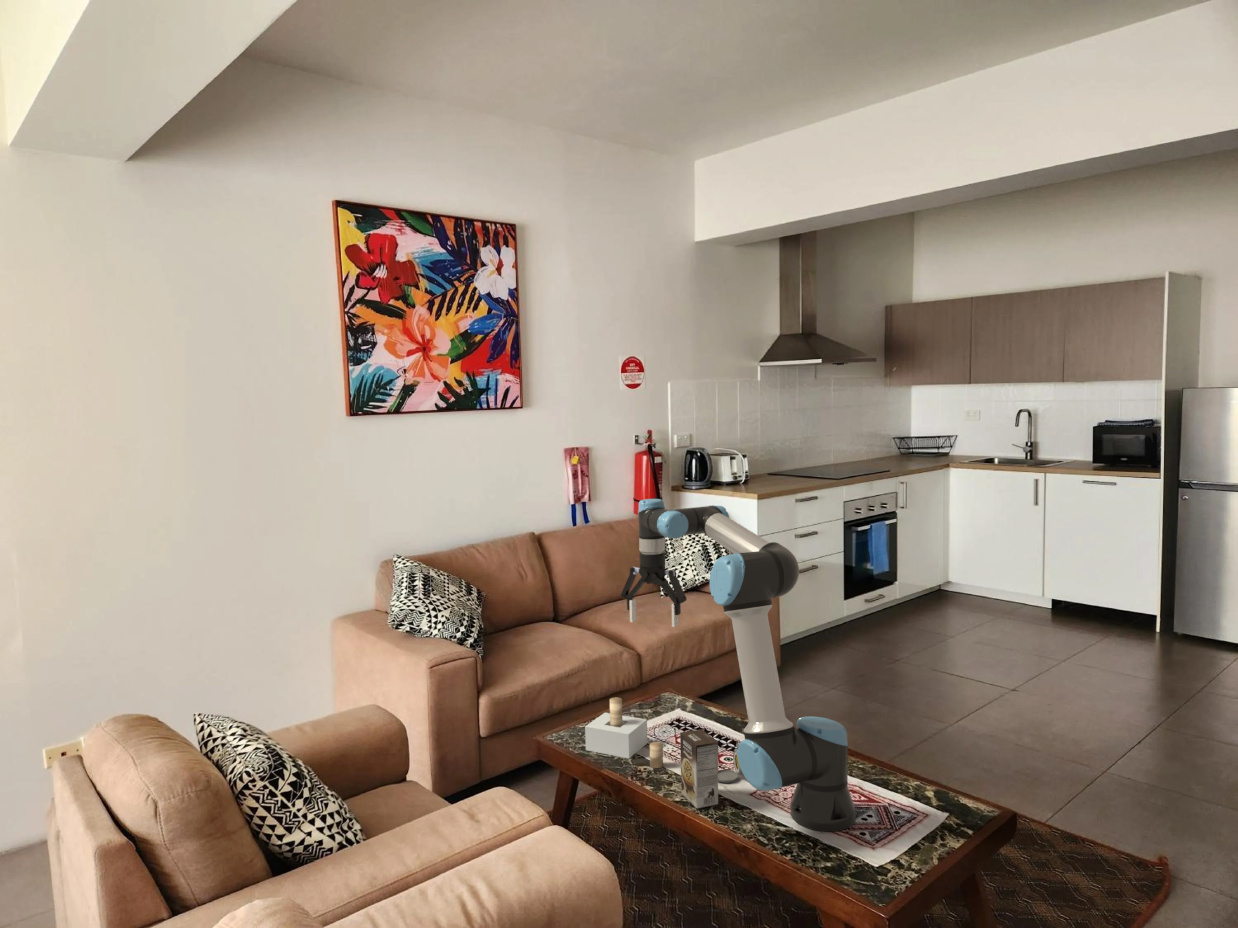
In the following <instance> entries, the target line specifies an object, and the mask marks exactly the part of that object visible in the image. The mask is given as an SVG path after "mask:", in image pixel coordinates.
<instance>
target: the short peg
mask: <svg viewBox="0 0 1238 928" xmlns="http://www.w3.org/2000/svg"><path fill="white" fill-rule="evenodd" d="M649 766H650V768H652V769H655V768H659V769H662V768H663V767H664V744H663V743H662V742H660V741H652V742H650V743H649Z"/></svg>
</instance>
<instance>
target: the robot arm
mask: <svg viewBox="0 0 1238 928" xmlns="http://www.w3.org/2000/svg"><path fill="white" fill-rule="evenodd" d="M637 516H638V518H637V519H638V542H639V544H638V547H639V548H638V550H639V567H637V566H636V565H634V566H632V567H630V568H629V575H628V577H627V580H626V582H625V584H624V587H623V589H622V590H621V594H620V596H621V598H624V599H625V600H626V609H627V610H628V611H629V623H634V622H637V600H636V598H635V596H636V595H637V593H638V592H639V591H640V589H641V588H642V587H643V586H644V585H645V584H646V585H647V584H648V585H650V584H653V585H659V586H660V587H661V588H662V589H663V591H664V592H665V594H666V595H667V596H668V598H669V599H670V600H671V601H672V602H673V603H672V604H671V627H672V628H675V627H678V625H679V615H681V612H682V611H681V607H682V606H681V604H683V603H685V602H687V596H686V594H685V591H684V590H683V588H682V586H681V583H680V581H679V579H678V577H677V572H676V569H675V568H672V569H667V568H666V553H665V551H666V542H665V541H666V540H665V538H668V539H680V538H682V537H683V536H688V535H689V536H690V535H699V534H704V535H705V536H708V537H709V538H710V539H711V540H713V541H715V542H716V543H718V544H719V545H720V546H722V547H724V548H725V549H726V550H728V551H729V552H731V553H732V554H728V555H723V556H721V557H719V558H718V559H716V561H714V563H713V566H712V568H711V570H710V573H709V591H710V594H711V598H713V601H714V602H715V603H716V604H717V605H719V606H721V607H722V609H723V614H724V615H726V616H727V617H728V618H730V619H731V622H732V623H731V624H732V630H733V635H734V636H733V637H734V641H735V642H734V643H735V647H736V649H735V650H736V653H737V660H738V665H739V672H740V678H741V683H742V684H741V685H742V689H743V696H744V701H745V708H746V712H747V720H748V723H747V725H746V726H745V728H744V729H743V736H744V740H742V741H740V744H739V746H738V750H737V756H738V762H739V765H740V768H741V770H742V772H743V774H742V775H743V776H744V778H745V779H746V780H747V782H748V783H749V784H750V785H751V786H752V787H753V788H755V789H756V790H758V791H762V792H766V791H767V792H768V791H774V790H776V791H777V790H779V789H781V788H784V787H788V786H792V785H795V784H796V786H795V789H794V792H793V795H792V797H791V801H790V805H789V806H790V807H789V808H790V811H789V812H790V817H791V818H792V819H793V821H794V822H795V823H797V824H798V825H800V826H802V827H804V828H807V829H810V830H813V831H819V832H838V831H839V832H840V831H843V830H846V829H849V828H850V827H852V826H853V825H854V824H855V823H856V807H855V804H854V801H853V799H852V795H851V793H850V790H849V789H850V788H849V785H848V784H849V783H848V777H849V776H848V775H849V774H848V771H849V770H848V765H849V764H848V763H849V762H848V759H849V758H848V756H849V755H848V754H849V752H848V751H849V750H848V748H849V747H848V746H849V742H848V733H847V732H848V731H847V730H846V727H845V726H844V725H843V724H841V723H840V722H838V721H836V720H833V719H830V718H826V717H822V716H813V715H812V716H802V717H800V718H798V719H797V721H796V725H795V726H796V728H795V727H794V723H793V722H792V721H790V719H788V718H787V716H786V712H785V707H784V702H783V695H782V690H781V689H782V688H781V685H780V683H781V682H780V678H779V672H778V667H777V661H776V657H775V656H776V655H775V649H774V644H773V639H772V632H771V628H770V627H771V626H770V622H769V621H770V620H769V616H768V614H769V612H770V611H771V609H772V607H773V602H772V599H773V598H775V599H776V598H780V597H783V596H785V595H787V594H788V593H790V592H791V591H792V590H793V589H794V587H795V586H796V584H797V582H798V580H799V576H800V567H799V562H798V560H797V558H796V557H795V555H794V554H793V552H791V551H790V549H788V548H786V547H785V546H784V545H782V544H780V543H778V542H776V541H775V542H774V541H771V542H770V541H768V540H766V539H764V538H763V537H761V536H759V535H758V534H756V533H754V532H753V531H751V530H749V529H748V528H746V527H744V526H743V525H742V524H740V523H738V522H737V521H735V520H733V519H731V518H730V515H729V512H728V511H727V509H726V508H725V506H722V505H705V506H696V507H695V506H694V507H688V508H687V507H686V508H684V507H683V508H674V509H672V508H671V509H668V508H666V507H665V503H664V500H663V499H660V498H644V499H641V500H640V501H639V502H638V510H637ZM638 574H639V575H640V576H641V577H640V578H639V580H638V581H637V583H636V584H635V585H634V587H633V588H632V586H633V584H634V582H635V580H636V578H637V575H638ZM666 576H667V578H668V579H669V581H670V583H671V585H672V586H671V585H670V584H669V581H668V579H667V578H666ZM672 587H673V588H672ZM631 588H632V589H631Z"/></svg>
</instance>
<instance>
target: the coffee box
mask: <svg viewBox="0 0 1238 928" xmlns="http://www.w3.org/2000/svg"><path fill="white" fill-rule="evenodd" d="M679 736H680V737H679V741H680V744H679V745H680V778H681V779H680V780H681V781H680V783H681V784H680V785H681V786H680V787H681V789H680V790H681V791H680V793H681V795H682V796H684V797H685V798H686V800H688V801H689V803H691V805H692V806H694V808H695V809H702V808H706V807H710V806H716V805H719V781H718V770H719V742H718V741H717V739H715V738H713V737H712V735H709V734H708V732H706V731H704V730H703V729H702V728H701V729H700V728H699V729H693V730H687V731H682V732H680V733H679Z"/></svg>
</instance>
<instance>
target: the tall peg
mask: <svg viewBox="0 0 1238 928" xmlns="http://www.w3.org/2000/svg"><path fill="white" fill-rule="evenodd" d="M609 713H610V726H614V727H622V726H623V721H622V715H623V699H622V698H621V697H616V696H615V697H611V698H609Z"/></svg>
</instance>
